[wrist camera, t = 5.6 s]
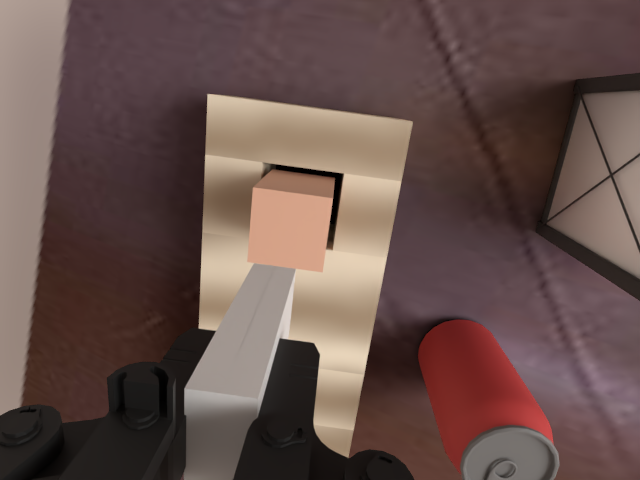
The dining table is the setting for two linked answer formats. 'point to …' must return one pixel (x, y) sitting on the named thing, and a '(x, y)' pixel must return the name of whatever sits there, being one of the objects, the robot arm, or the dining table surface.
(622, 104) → the lantern
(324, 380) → the birch block
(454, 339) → the beer can
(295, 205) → the terracotta peg
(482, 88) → the dining table surface
